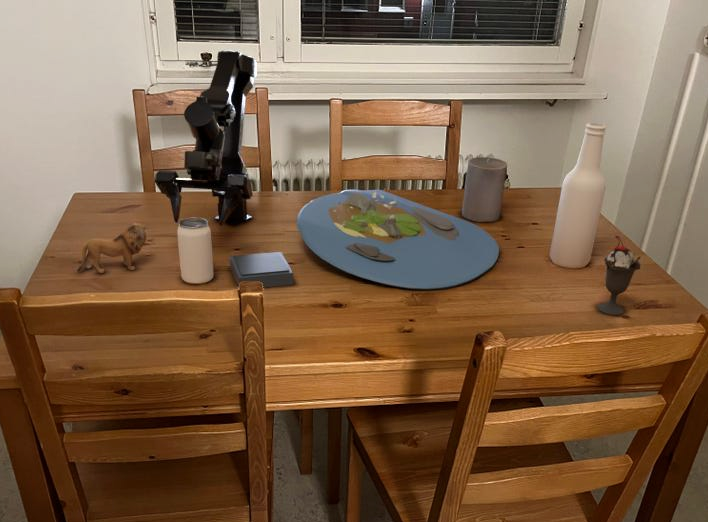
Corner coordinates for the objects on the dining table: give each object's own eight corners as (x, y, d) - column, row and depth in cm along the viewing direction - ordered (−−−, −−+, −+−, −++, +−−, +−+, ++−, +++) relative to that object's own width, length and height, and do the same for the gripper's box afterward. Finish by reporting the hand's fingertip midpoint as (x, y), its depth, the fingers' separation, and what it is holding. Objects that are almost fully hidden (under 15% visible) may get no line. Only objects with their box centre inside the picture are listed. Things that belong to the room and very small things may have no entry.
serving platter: (525, 271, 172) (541, 223, 165) (408, 331, 144) (421, 276, 137) (383, 197, 194) (391, 152, 187) (257, 237, 166) (261, 186, 159)
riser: (230, 268, 156) (229, 254, 154) (281, 263, 159) (281, 250, 157) (239, 290, 147) (238, 276, 145) (293, 284, 150) (293, 271, 148)
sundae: (587, 301, 148) (603, 231, 140) (620, 301, 148) (637, 231, 140) (600, 317, 142) (617, 244, 134) (633, 317, 143) (652, 244, 135)
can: (206, 286, 148) (202, 230, 141) (176, 283, 149) (170, 226, 142) (218, 273, 153) (214, 218, 147) (188, 270, 154) (184, 215, 148)
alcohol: (546, 265, 163) (572, 126, 147) (551, 250, 170) (576, 117, 154) (587, 272, 160) (617, 132, 145) (590, 257, 167) (620, 122, 152)
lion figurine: (146, 258, 158) (142, 218, 154) (152, 267, 154) (147, 227, 150) (75, 268, 153) (68, 227, 148) (79, 278, 149) (72, 236, 144)
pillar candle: (472, 206, 194) (479, 149, 186) (506, 215, 189) (515, 157, 181) (454, 216, 187) (461, 157, 179) (489, 225, 182) (497, 165, 174)
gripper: (152, 129, 145) (140, 202, 141) (246, 135, 144) (237, 208, 140) (167, 158, 156) (157, 226, 152) (255, 163, 155) (246, 232, 151)
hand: (198, 223), depth 148 cm, fingers open, 9 cm apart
